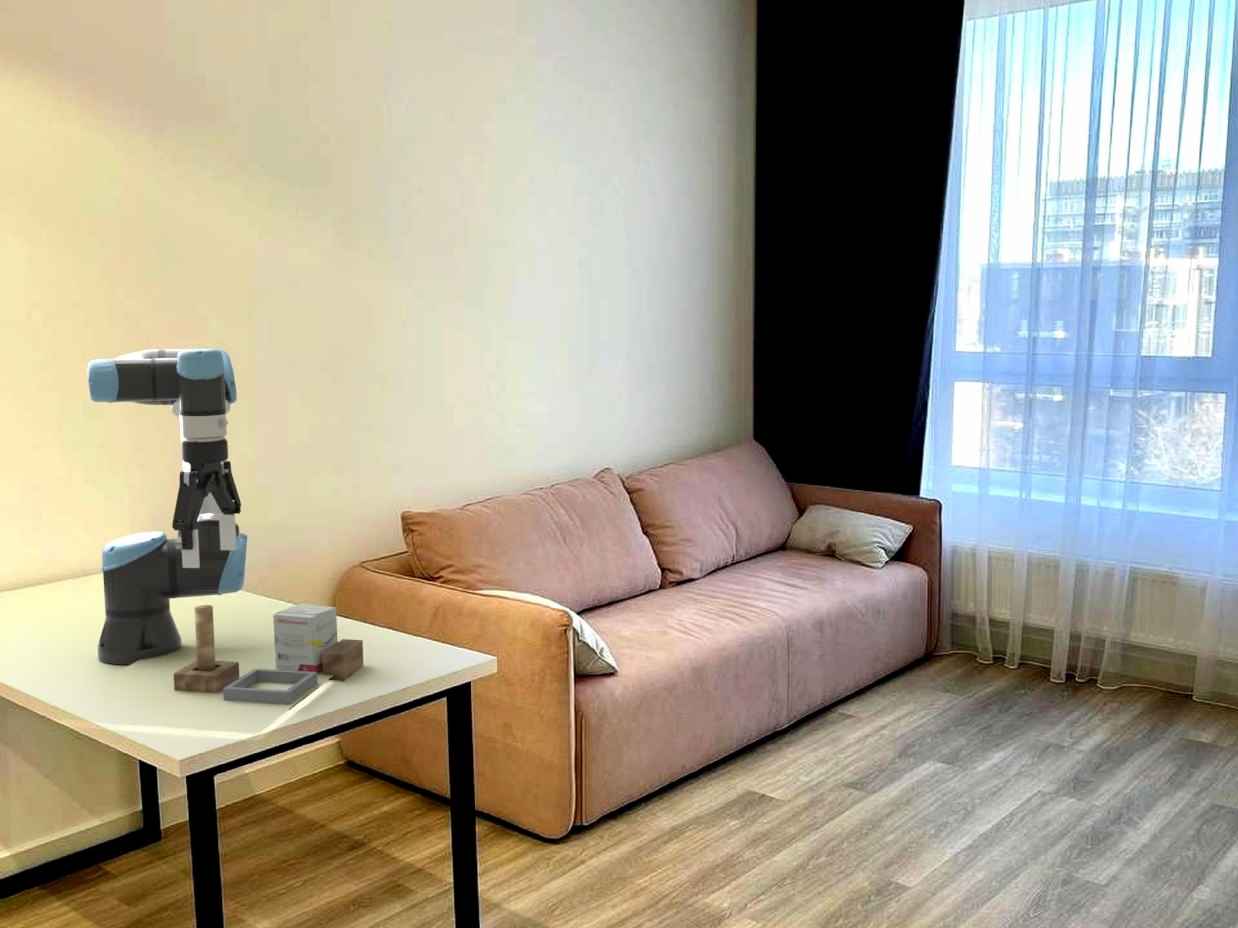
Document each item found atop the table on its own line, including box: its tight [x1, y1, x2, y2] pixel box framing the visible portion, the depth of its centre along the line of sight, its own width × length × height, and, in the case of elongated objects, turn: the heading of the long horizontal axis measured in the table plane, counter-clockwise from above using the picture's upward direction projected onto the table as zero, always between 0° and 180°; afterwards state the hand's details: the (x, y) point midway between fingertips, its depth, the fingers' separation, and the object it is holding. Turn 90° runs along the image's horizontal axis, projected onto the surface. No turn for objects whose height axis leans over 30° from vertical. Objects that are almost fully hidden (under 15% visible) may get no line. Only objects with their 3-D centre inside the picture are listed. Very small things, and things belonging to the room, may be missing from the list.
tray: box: [222, 667, 318, 711], centre depth 201 cm, size 12×11×3 cm
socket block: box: [173, 659, 241, 694], centre depth 205 cm, size 8×8×4 cm
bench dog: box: [322, 638, 364, 682], centre depth 214 cm, size 4×9×5 cm, turn 170°
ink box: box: [272, 603, 339, 674], centre depth 214 cm, size 9×9×12 cm
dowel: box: [194, 604, 216, 672], centre depth 204 cm, size 3×3×14 cm
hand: (210, 558), depth 203 cm, fingers open, 13 cm apart
